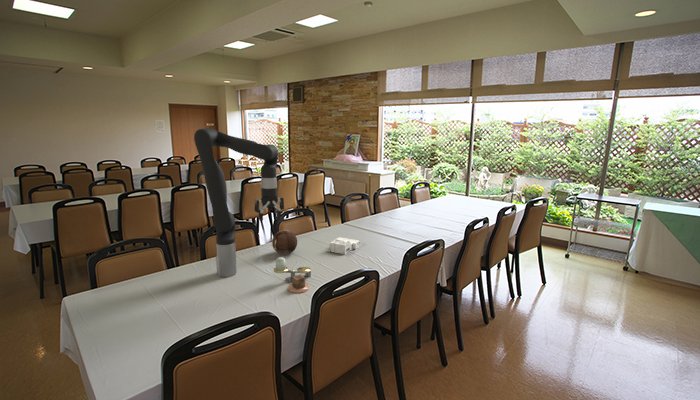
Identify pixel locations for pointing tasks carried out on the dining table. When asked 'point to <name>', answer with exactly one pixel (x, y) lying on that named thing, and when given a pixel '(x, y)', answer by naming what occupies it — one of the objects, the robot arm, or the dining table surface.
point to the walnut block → (298, 282)
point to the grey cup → (280, 264)
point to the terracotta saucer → (298, 289)
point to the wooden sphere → (284, 242)
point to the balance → (299, 270)
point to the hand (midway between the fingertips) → (269, 219)
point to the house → (343, 245)
